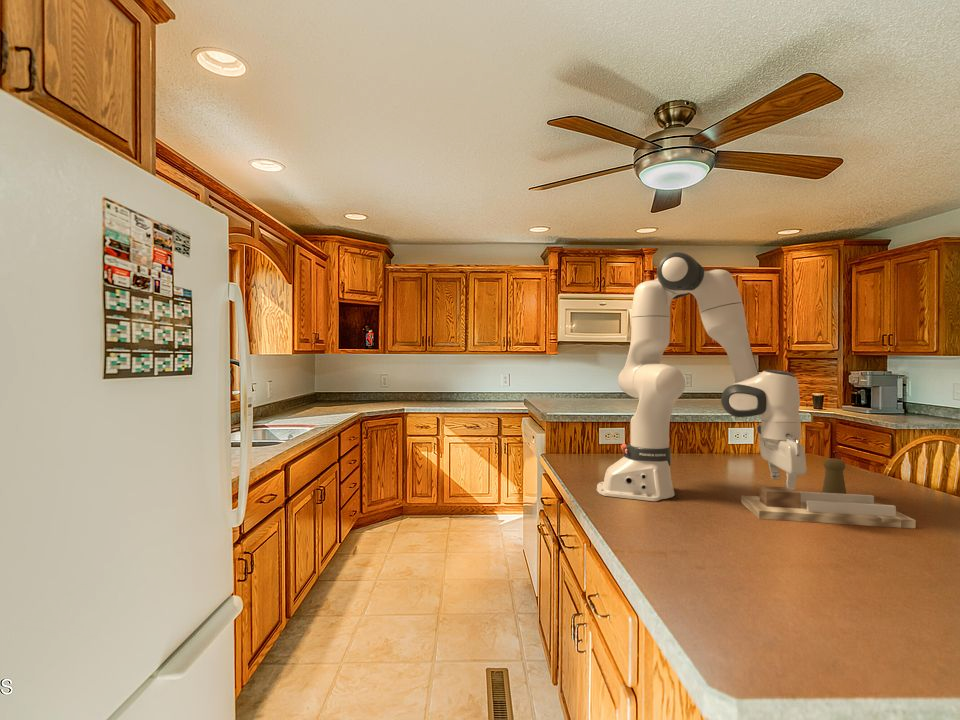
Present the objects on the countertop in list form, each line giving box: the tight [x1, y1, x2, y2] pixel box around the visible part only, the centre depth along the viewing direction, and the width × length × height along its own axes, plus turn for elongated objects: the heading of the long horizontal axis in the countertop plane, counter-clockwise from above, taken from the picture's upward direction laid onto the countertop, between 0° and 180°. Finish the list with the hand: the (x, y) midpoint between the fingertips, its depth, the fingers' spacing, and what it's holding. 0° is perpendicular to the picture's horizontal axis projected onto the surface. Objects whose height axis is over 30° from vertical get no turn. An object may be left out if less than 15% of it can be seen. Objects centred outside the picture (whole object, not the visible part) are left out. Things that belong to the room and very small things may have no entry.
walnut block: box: [759, 485, 801, 508], centre depth 128 cm, size 8×5×4 cm, turn 78°
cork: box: [821, 458, 847, 494], centre depth 143 cm, size 6×6×11 cm
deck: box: [740, 495, 917, 530], centre depth 126 cm, size 34×14×2 cm, turn 78°
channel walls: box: [797, 490, 897, 517], centre depth 125 cm, size 19×10×2 cm, turn 78°
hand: (782, 483), depth 128 cm, fingers open, 8 cm apart
